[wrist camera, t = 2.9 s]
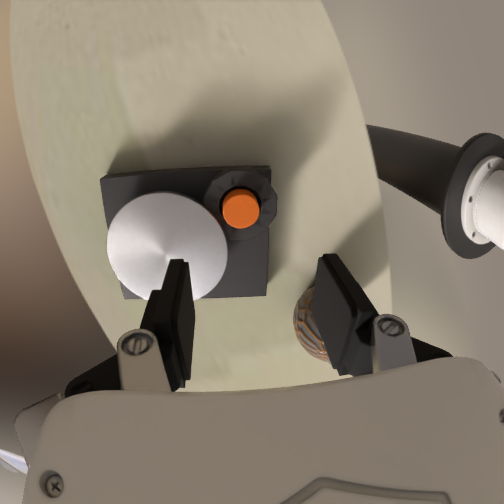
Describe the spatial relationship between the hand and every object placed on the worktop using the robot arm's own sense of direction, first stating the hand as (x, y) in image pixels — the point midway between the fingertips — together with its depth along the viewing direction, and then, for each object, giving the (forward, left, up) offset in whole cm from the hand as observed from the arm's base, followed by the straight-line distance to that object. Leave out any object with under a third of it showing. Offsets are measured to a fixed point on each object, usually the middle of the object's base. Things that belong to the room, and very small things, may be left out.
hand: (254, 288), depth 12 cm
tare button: (0, 0, -11) cm, 11 cm away
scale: (+4, +4, -13) cm, 15 cm away
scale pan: (+6, +4, -10) cm, 13 cm away
